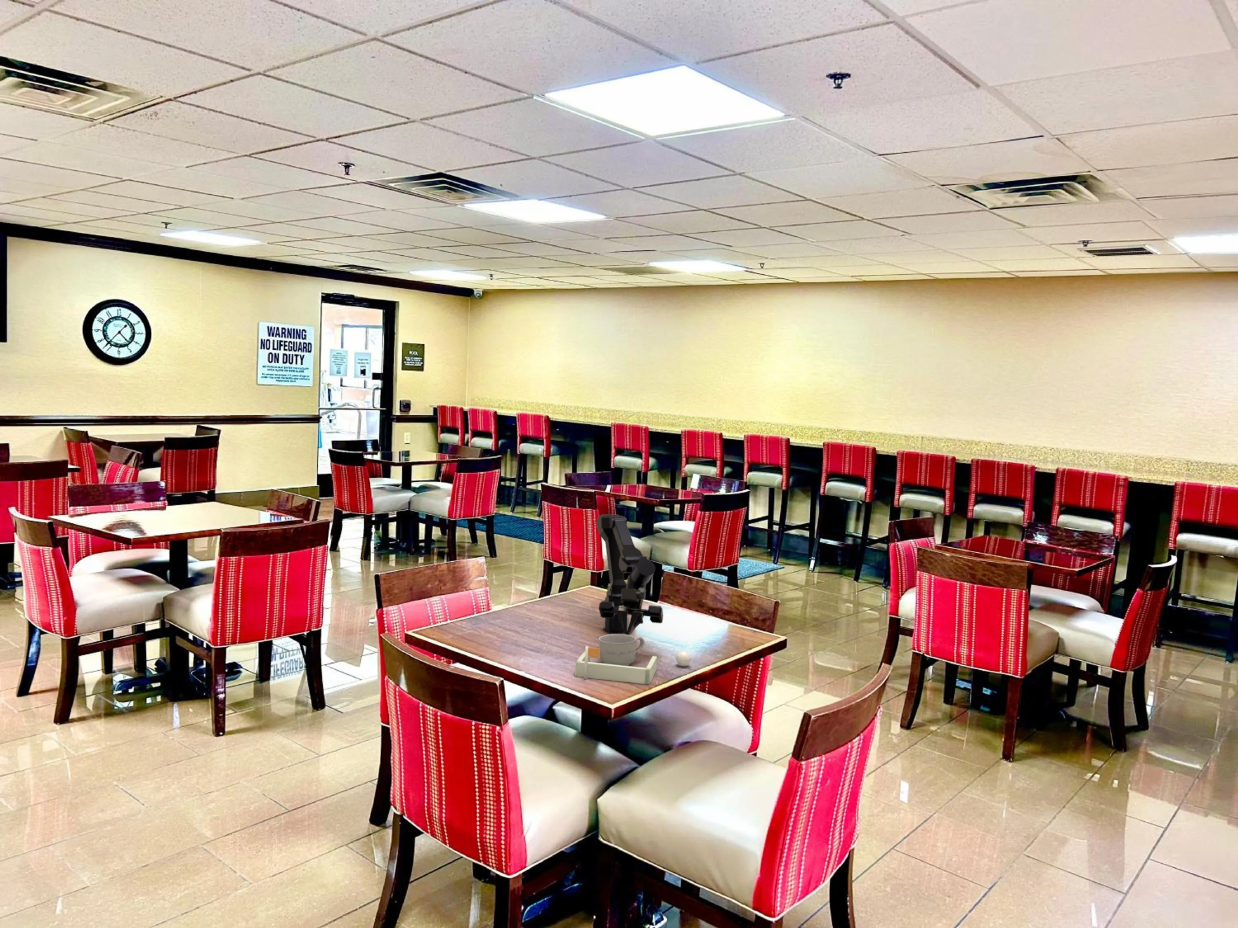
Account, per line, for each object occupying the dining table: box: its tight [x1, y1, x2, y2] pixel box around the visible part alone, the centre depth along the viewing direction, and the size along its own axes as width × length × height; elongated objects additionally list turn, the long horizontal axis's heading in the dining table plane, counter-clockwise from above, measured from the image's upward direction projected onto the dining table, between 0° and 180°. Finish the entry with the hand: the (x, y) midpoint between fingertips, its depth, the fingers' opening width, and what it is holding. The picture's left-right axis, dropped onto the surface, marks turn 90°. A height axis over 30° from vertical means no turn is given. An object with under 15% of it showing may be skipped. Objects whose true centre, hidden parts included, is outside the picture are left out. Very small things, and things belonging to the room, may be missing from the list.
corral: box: [574, 645, 658, 685], centre depth 241 cm, size 14×20×9 cm
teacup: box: [598, 633, 645, 666], centre depth 250 cm, size 14×11×8 cm
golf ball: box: [675, 650, 692, 667], centre depth 251 cm, size 4×4×4 cm
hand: (626, 637), depth 254 cm, fingers closed, pressing on teacup
